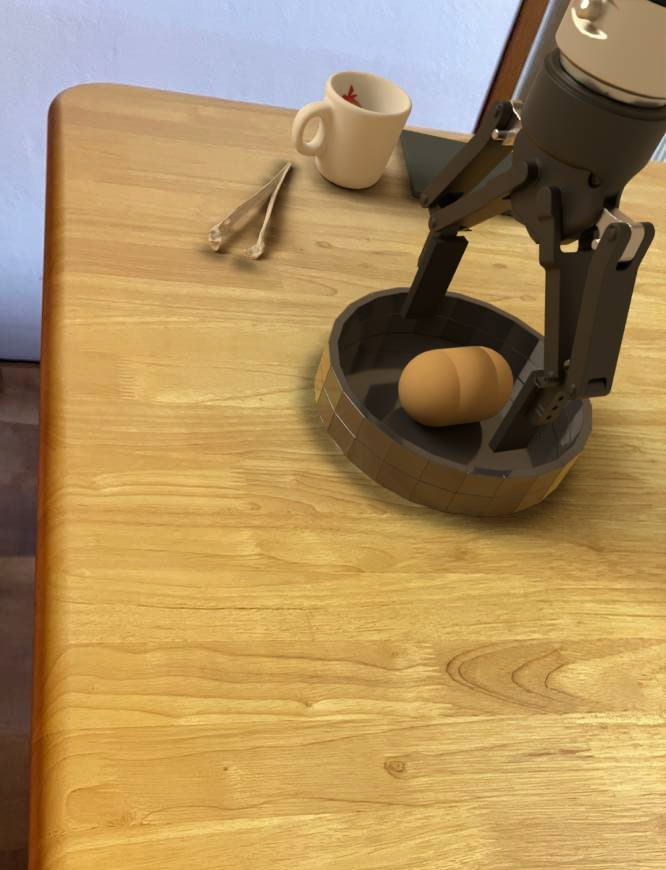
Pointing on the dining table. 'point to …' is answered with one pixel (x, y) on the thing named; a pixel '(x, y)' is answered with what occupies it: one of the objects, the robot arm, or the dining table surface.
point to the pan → (448, 445)
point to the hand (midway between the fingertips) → (459, 377)
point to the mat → (437, 159)
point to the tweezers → (244, 208)
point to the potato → (455, 386)
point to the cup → (354, 127)
